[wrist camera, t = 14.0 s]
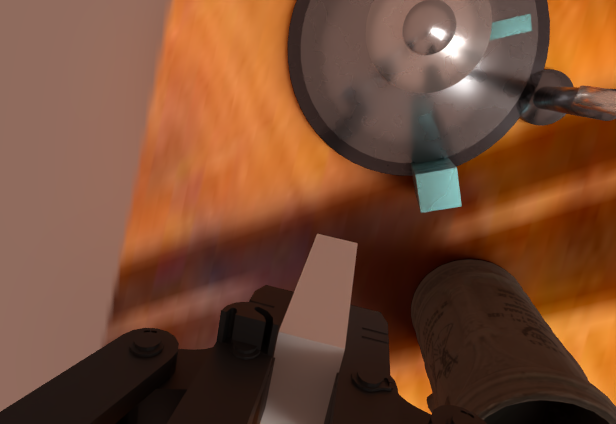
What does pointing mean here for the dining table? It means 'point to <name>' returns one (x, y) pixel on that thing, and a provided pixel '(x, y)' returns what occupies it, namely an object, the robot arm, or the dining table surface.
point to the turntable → (414, 106)
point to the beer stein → (498, 351)
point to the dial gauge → (566, 100)
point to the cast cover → (427, 41)
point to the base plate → (396, 167)
